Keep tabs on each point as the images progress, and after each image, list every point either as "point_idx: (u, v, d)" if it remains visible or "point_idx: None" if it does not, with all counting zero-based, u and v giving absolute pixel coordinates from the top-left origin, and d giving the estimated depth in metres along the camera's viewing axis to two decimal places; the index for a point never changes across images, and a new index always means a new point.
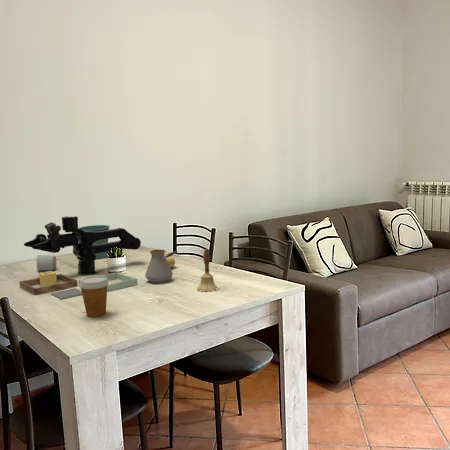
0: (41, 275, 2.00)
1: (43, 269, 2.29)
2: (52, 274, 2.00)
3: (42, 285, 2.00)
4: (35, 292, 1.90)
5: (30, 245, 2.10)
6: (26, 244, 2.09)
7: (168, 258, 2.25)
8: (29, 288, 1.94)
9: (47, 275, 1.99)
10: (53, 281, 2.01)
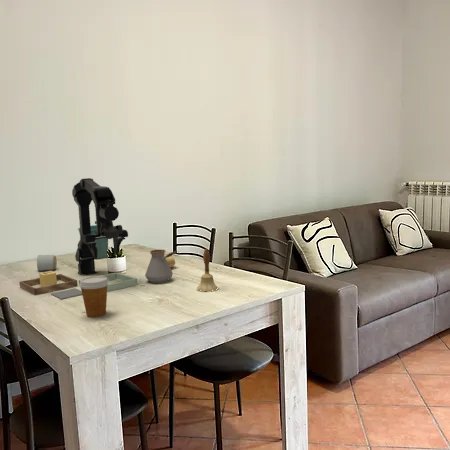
0: (41, 275, 2.00)
1: (43, 269, 2.30)
2: (52, 274, 2.00)
3: (42, 285, 2.00)
4: (35, 292, 1.90)
5: None
6: None
7: (168, 258, 2.25)
8: (29, 288, 1.94)
9: (47, 275, 1.99)
10: (53, 281, 2.01)
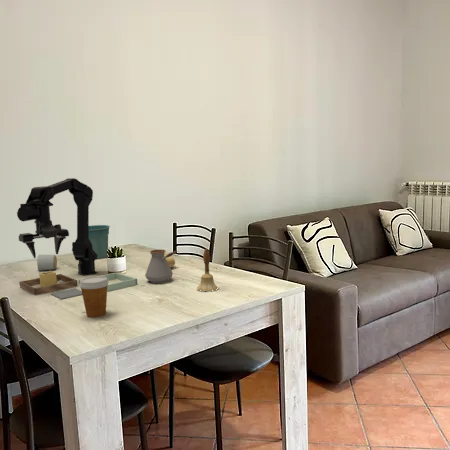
0: (41, 275, 2.00)
1: (44, 268, 2.31)
2: (52, 274, 2.00)
3: (42, 285, 2.00)
4: (35, 292, 1.90)
5: None
6: None
7: (168, 258, 2.25)
8: (29, 288, 1.94)
9: (47, 275, 1.99)
10: (53, 281, 2.01)
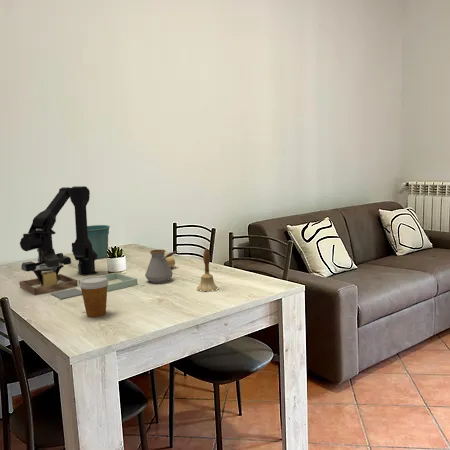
0: None
1: (44, 268, 2.31)
2: (52, 274, 2.00)
3: (42, 285, 2.00)
4: (35, 292, 1.90)
5: None
6: None
7: (168, 258, 2.25)
8: (29, 288, 1.94)
9: (47, 275, 1.99)
10: (53, 280, 2.01)
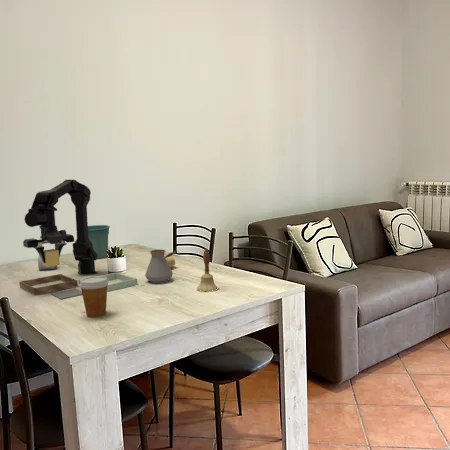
0: None
1: (44, 268, 2.32)
2: (55, 251, 1.95)
3: (44, 263, 1.96)
4: (35, 292, 1.90)
5: None
6: None
7: (168, 258, 2.25)
8: (29, 288, 1.94)
9: (49, 252, 1.94)
10: (56, 258, 1.96)
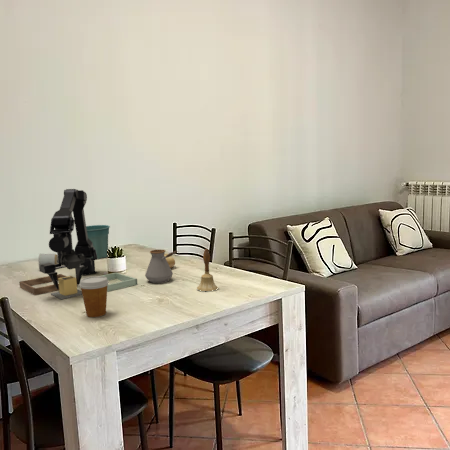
0: (61, 280, 1.88)
1: None
2: (72, 279, 1.88)
3: (61, 291, 1.88)
4: (35, 292, 1.90)
5: None
6: None
7: (168, 258, 2.25)
8: (29, 288, 1.94)
9: (67, 280, 1.87)
10: (74, 286, 1.89)
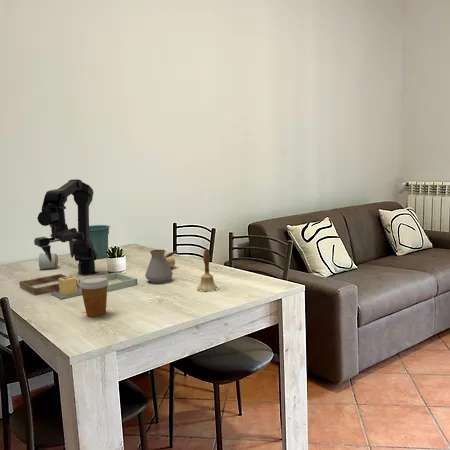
0: (61, 280, 1.88)
1: (45, 267, 2.33)
2: (72, 279, 1.88)
3: (61, 291, 1.88)
4: (35, 292, 1.90)
5: None
6: None
7: (168, 258, 2.25)
8: (29, 288, 1.94)
9: (67, 280, 1.87)
10: (74, 286, 1.89)
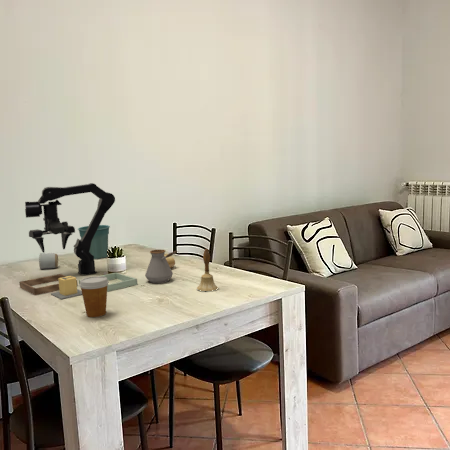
0: (61, 280, 1.88)
1: (45, 267, 2.34)
2: (72, 279, 1.88)
3: (61, 291, 1.88)
4: (35, 292, 1.90)
5: None
6: None
7: (168, 258, 2.25)
8: (29, 288, 1.94)
9: (67, 280, 1.87)
10: (74, 286, 1.89)
